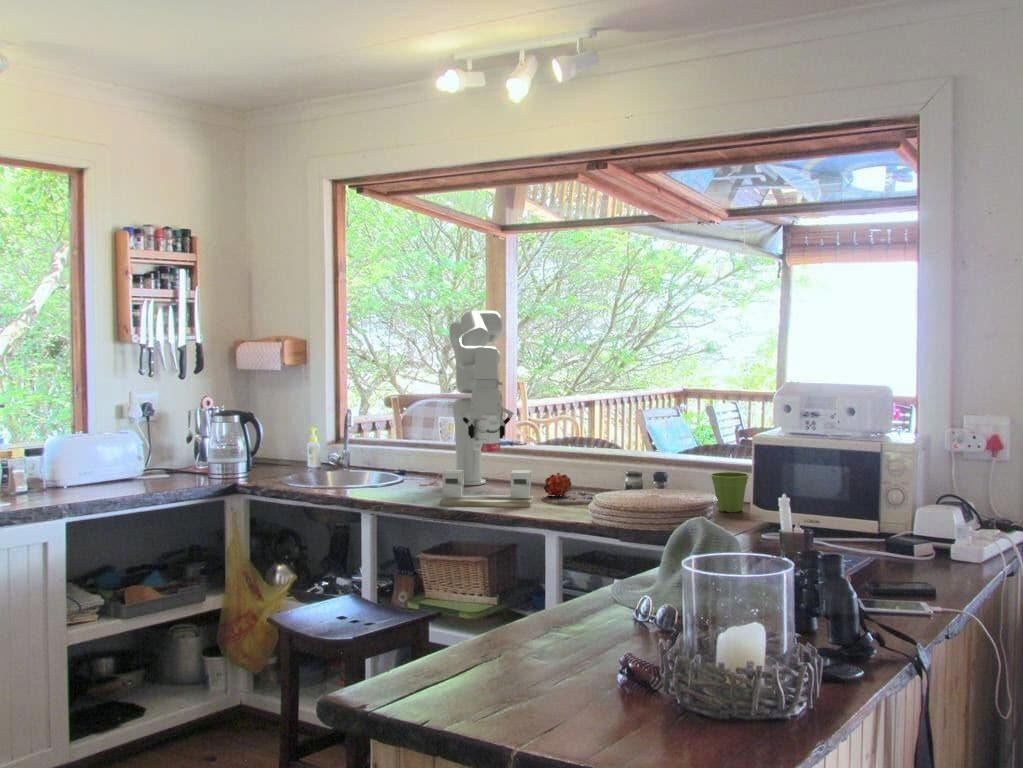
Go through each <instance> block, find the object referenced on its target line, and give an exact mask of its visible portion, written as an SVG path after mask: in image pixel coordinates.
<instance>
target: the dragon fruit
mask: <svg viewBox="0 0 1023 768" xmlns="http://www.w3.org/2000/svg"><path fill="white" fill-rule="evenodd" d="M571 487H572V481H571V478H570V477H569V476H568V474H566V473H565V474H562V475H561V474H560V472H557V473H556V474H551V475H550V476H549V477H547V478H546V479H545V485H543V489H544V491H545V492H546V494H547V497H548V496H549V495H558V496H559V495H564V496H565V495H566V493H569V492H571V491H572V488H571Z"/></svg>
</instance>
